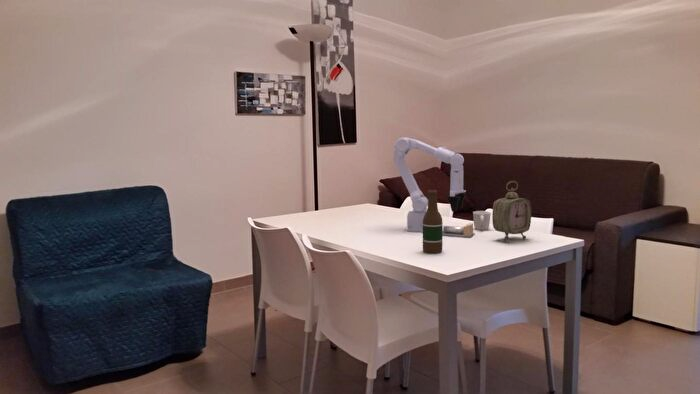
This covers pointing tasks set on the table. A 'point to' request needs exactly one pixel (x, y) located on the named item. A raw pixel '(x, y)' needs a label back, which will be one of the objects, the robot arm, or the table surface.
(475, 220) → the cup
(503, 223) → the tabletop clock
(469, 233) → the board
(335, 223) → the table surface
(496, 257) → the table surface
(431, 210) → the beer bottle
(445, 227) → the tube
